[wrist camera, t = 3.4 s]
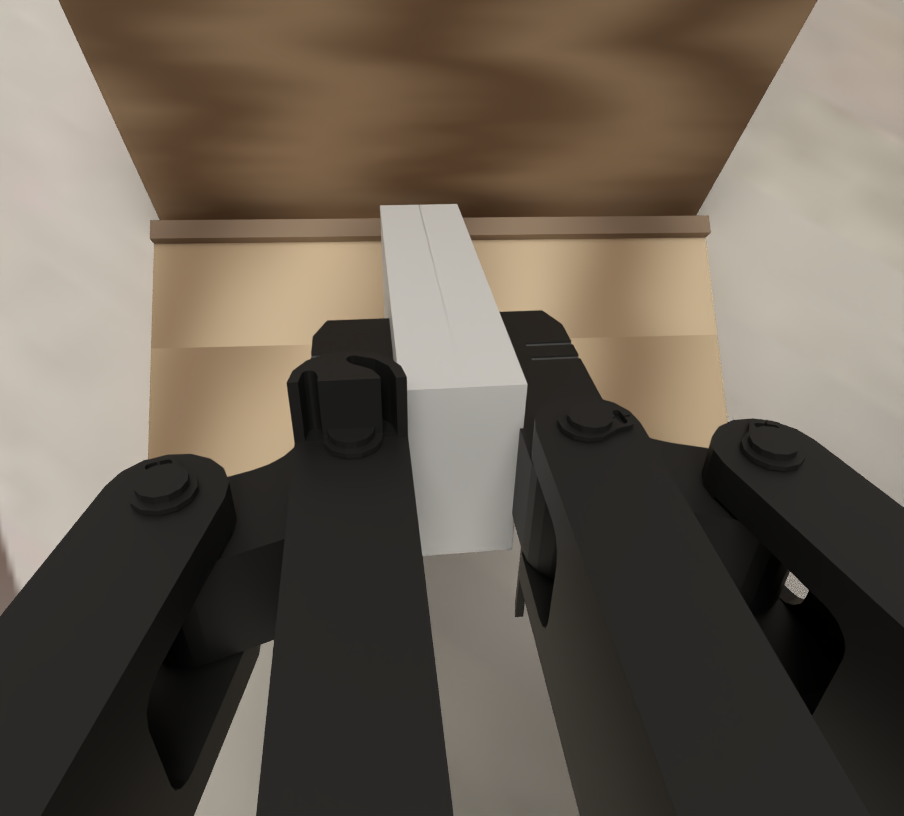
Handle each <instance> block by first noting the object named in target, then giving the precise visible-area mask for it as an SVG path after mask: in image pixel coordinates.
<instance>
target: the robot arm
mask: <svg viewBox="0 0 904 816" xmlns="http://www.w3.org/2000/svg"><path fill="white" fill-rule="evenodd" d="M380 220H381V246H382V271H383V297H384V318H379V319H352V320H327V321H326V322H325V323H324V324H323V326H322V327H321V328H320V329H319V330H318V331H317V332H316V333H315V334H314V335H313V338H312V349H311V359H309V360H306V361H305V362H304V363H302V364H301V365H300V366H298V367H297V368H295V369H294V370H293V371H292V373H291V375H290V377H289V379H288V381H287V391H288V398H289V406H290V413H291V421H292V428H293V435H294V448H293V449H292V450H291V451H289V452H288V453H287V454H286V455H285V456H283V457H281V458H280V459H278V460H276V461H274V462H272V463H270V464H268V465H265V466H262V467H260V468H257V469H254V470H251V471H247V472H243V473H240V474H236V475H233V476H229V477H227V475H226V472H225V470H224V468H223V467H222V466H220V465H219V464H218V463H216V462H215V461H213V460H212V459H211V458H207V457H202V456H198V455H194V454H168V455H164V456H160V457H156V458H152V459H148V460H144V461H142V462H140V463H138V464H136V465H134V466H132V467H130V468H128V469H126V470H124V471H122V472H121V473H120V474H118V475H117V476H116V477H115V478H114V479H113V480H112V481H110V482H109V483H108V484H107V485H106V486H105V487H104V488H103V490H102V491H101V492H100V493H99V494H98V496H97V497H96V498H95V499H94V501H93V502H92V503H91V504H90V506H89V507H88V508H87V509H86V511H85V512H84V513H83V514H82V516H81V517H80V518H79V519H78V521H77V522H76V523H75V524H74V525H73V527H72V528H71V529H70V530H69V532H68V533H67V534H66V535H65V537H64V538H63V539H62V540H61V542H60V543H59V544H58V545H57V547H56V548H55V549H54V550H53V551H52V553H51V554H50V555H49V556H48V558H47V559H46V560H45V561H44V563H43V564H42V565H41V566H40V568H39V569H38V570H37V571H36V573H35V574H34V575H33V576H32V578H31V579H30V580H29V581H28V582H27V584H26V585H25V586H24V587H23V589H22V590H21V591H20V592H19V594H18V595H17V596H16V597H15V599H14V600H13V601H12V602H11V604H10V605H9V606H8V607H7V609H6V610H5V611H4V612H3V614H2V615H1V616H0V816H194V814H195V812H196V809H197V807H198V804H199V802H200V799H201V797H202V794H203V792H204V789H205V787H206V784H207V782H208V779H209V777H210V775H211V772H212V770H213V767H214V765H215V762H216V760H217V757H218V755H219V752H220V750H221V747H222V745H223V742H224V740H225V737H226V735H227V733H228V730H229V728H230V725H231V723H232V720H233V718H234V715H235V713H236V710H237V708H238V705H239V703H240V700H241V698H242V696H243V693H244V691H245V688H246V686H247V683H248V681H249V678H250V676H251V673H252V671H253V668H254V666H255V663H256V661H257V658H258V656H259V652H260V646H261V644H263V643H266V642H269V641H271V640H274V648H273V657H272V667H271V677H270V687H269V696H268V706H267V716H266V725H265V735H264V745H263V755H262V764H261V774H260V784H259V794H258V803H257V813H256V816H453V808H452V799H451V791H450V783H449V774H448V766H447V758H446V749H445V741H444V732H443V724H442V716H441V707H440V699H439V691H438V682H437V674H436V666H435V657H434V649H433V640H432V632H431V624H430V615H429V607H428V599H427V590H426V582H425V574H424V565H423V557H422V556H429V555H443V554H456V553H469V552H483V551H496V550H509V549H512V541H513V531H514V523H515V526H516V530H517V534H518V537H519V541H520V544H521V553H520V562H519V571H518V581H517V590H516V600H515V617H522V616H523V612H524V604H526V608H527V611H528V615H529V619H530V623H531V627H532V631H533V635H534V639H535V643H536V647H537V650H538V654H539V658H540V662H541V666H542V670H543V674H544V678H545V682H546V686H547V689H548V693H549V697H550V701H551V705H552V709H553V713H554V717H555V721H556V724H557V728H558V732H559V736H560V740H561V744H562V748H563V752H564V756H565V760H566V763H567V767H568V771H569V775H570V779H571V783H572V787H573V791H574V795H575V799H576V802H577V806H578V810H579V814H580V816H904V507H902V506H901V505H900V504H898V503H897V502H896V501H894V500H893V499H892V498H890V497H889V496H888V495H886V494H885V493H884V492H883V491H881V490H880V489H879V488H877V487H876V486H875V485H873V484H872V483H871V482H869V481H868V480H867V479H865V478H864V477H863V476H861V475H860V474H859V473H858V472H856V471H855V470H854V469H852V468H851V467H850V466H848V465H847V464H846V463H844V462H843V461H842V460H840V459H839V458H838V457H836V456H835V455H834V454H833V453H831V452H830V451H829V450H827V449H826V448H825V447H823V446H822V445H821V444H819V443H818V442H817V441H815V440H814V439H812V438H810V437H809V436H807V435H805V434H804V433H802V432H800V431H798V430H797V429H794V428H791V427H788V426H786V425H783V424H780V423H778V422H774V421H769V420H762V419H741V420H732V421H730V422H728V423H725V424H723V425H721V426H719V427H718V428H717V430H716V431H715V433H714V434H713V436H712V438H711V441H710V445H709V448H704V447H697V446H691V445H684V444H677V443H670V442H666V441H661V440H657V439H652V438H650V437H649V436H648V434H647V432H646V431H645V429H644V427H643V426H642V424H641V422H640V421H639V420H638V419H637V418H636V417H635V416H634V415H633V414H632V413H631V412H630V411H629V410H627V409H625V408H623V407H621V406H620V405H618V404H616V403H614V402H610V401H607V400H603V399H602V397H601V395H600V393H599V392H598V390H597V388H596V386H595V384H594V382H593V380H592V379H591V377H590V375H589V373H588V371H587V369H586V367H585V366H584V364H583V362H582V360H581V358H579V354H578V352H577V351H576V349H575V347H574V345H573V344H571V339H570V338H569V336H568V334H567V332H566V330H565V328H564V326H563V325H562V324H561V323H560V322H558V321H557V320H556V319H554V318H553V317H551V316H550V315H548V314H547V313H546V312H544V311H543V310H534V311H506V312H499V310H498V307H497V305H496V302H495V300H494V297H493V295H492V292H491V289H490V287H489V284H488V282H487V279H486V277H485V274H484V271H483V269H482V266H481V264H480V261H479V259H478V256H477V253H476V251H475V248H474V246H473V243H472V241H471V238H470V236H469V233H468V230H467V228H466V225H465V223H464V220H463V218H462V215H461V212H460V210H459V207H458V205H457V204H430V205H380ZM789 572H791V573H792V574H793V575H794V576H795V577H796V578H797V579H798V580H799V581H800V582H801V583H802V584H803V585H804V586H806V587H807V588H808V589H809V592H808V594H807V596H806V598H805V599H801V598H799V597H797V596H796V595H795V594H793V593H792V592H791V591H790V590H789V589H788V588H787V587H786V586H785V585H784V584H785V582H786V579H787V577H788V575H789Z"/></svg>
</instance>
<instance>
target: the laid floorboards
mask: <svg viewBox="0 0 904 816" xmlns="http://www.w3.org/2000/svg"><path fill="white" fill-rule="evenodd" d="M463 220H464V223H465V225H466V228H467V230H468V233H469V236H470V238H471V241H472V243H473V246H474V248H475V251H476V253H477V256H478V259H479V261H480V264H481V266H482V269H483V271H484V274H485V277H486V279H487V282H488V284H489V287H490V289H491V292H492V295H493V297H494V300H495V302H496V305H497V307H498V310H499V312H506V311H534V310H543V311H544V312H546V313H547V314H548V315H550V316H551V317H553V318H554V319H556V320H557V321H558V322H560V323H561V324H562V325H563V326H564V328H565V330H566V332H567V334H568V336H569V338H570V339H571V344H573V345H574V347H575V349H576V351H577V352H578V354H579V358H581V360H582V362H583V364H584V366H585V367H586V369H587V371H588V373H589V375H590V377H591V379H592V380H593V382H594V384H595V386H596V388H597V390H598V392H599V393H600V395H601V397H602V399H603V400H607V401H610V402H614V403H616V404H618V405H620V406H621V407H623V408H625V409H627V410H629V411H630V412H631V413H632V414H633V415H634V416H635V417H636V418H637V419H638V420H639V421H640V422H641V424H642V426H643V427H644V429H645V431H646V432H647V434H648V436H649V437H650V438H652V439H657V440H661V441H666V442H670V443H677V444H684V445H691V446H697V447H704V448H709V445H710V441H711V438H712V436H713V434H714V433H715V431H716V430H717V428H718V427H719V426H721V425H723V424H725V423H728V421H727V413H726V405H725V396H724V388H723V380H722V371H721V363H720V355H719V346H718V338H717V330H716V321H715V313H714V305H713V297H712V288H711V280H710V272H709V263H708V255H707V247H706V238H705V237H706V236H708V235H709V234H710V233H711V231H710V223H709V216H601V217H485V218H463ZM150 239H151V241H152V242H153V243H154V267H153V302H152V338H151V373H150V408H149V444H148V459H152V458H156V457H160V456H164V455H168V454H194V455H198V456H202V457H207V458H211V459H212V460H213V461H215V462H216V463H218V464H219V465H220V466H222V467H223V468H224V470H225V472H226V475H227V477H229V476H233V475H236V474H240V473H243V472H247V471H251V470H254V469H257V468H260V467H262V466H265V465H268V464H270V463H272V462H274V461H276V460H278V459H280V458H281V457H283V456H285V455H286V454H287V453H288V452H289V451H291V450H292V449H293V448H294V435H293V428H292V421H291V413H290V406H289V398H288V391H287V381H288V379H289V377H290V375H291V373H292V371H293V370H294V369H295V368H297V367H298V366H300V365H301V364H302V363H304V362H305V361H306V360H309V359H311V349H312V338H313V335H314V334H315V333H316V332H317V331H318V330H319V329H320V328H321V327H322V326H323V324H324V323H325V322H326V321H327V320H352V319H379V318H384V297H383V271H382V246H381V220H380V218H369V219H253V220H150Z"/></svg>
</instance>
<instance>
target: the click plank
mask: <svg viewBox="0 0 904 816" xmlns="http://www.w3.org/2000/svg"><path fill="white" fill-rule="evenodd" d="M59 2H60V4H61V6H62V9H63V11H64V13H65V15H66V17H67V19H68V22H69V24H70V26H71V28H72V30H73V32H74V35H75V37H76V39H77V41H78V43H79V46H80V48H81V50H82V52H83V54H84V56H85V59H86V61H87V63H88V65H89V67H90V69H91V72H92V74H93V76H94V78H95V80H96V82H97V85H98V87H99V89H100V91H101V93H102V95H103V98H104V100H105V102H106V104H107V106H108V108H109V111H110V113H111V115H112V117H113V119H114V121H115V124H116V126H117V128H118V130H119V132H120V134H121V137H122V139H123V141H124V143H125V145H126V147H127V150H128V152H129V154H130V156H131V158H132V160H133V163H134V165H135V167H136V169H137V171H138V173H139V176H140V178H141V180H142V182H143V184H144V186H145V189H146V191H147V193H148V195H149V197H150V199H151V202H152V204H153V206H154V208H155V210H156V213H157V215H158V217H159V219H160V220H253V219H369V218H380V205H430V204H457V205H458V207H459V210H460V212H461V215H462V218H485V217H601V216H696V215H697V213H698V211H699V209H700V207H701V206H702V204H703V202H704V200H705V199H706V197H707V195H708V193H709V192H710V190H711V188H712V186H713V184H714V183H715V181H716V179H717V177H718V176H719V174H720V172H721V170H722V168H723V167H724V165H725V163H726V161H727V160H728V158H729V156H730V154H731V153H732V151H733V149H734V147H735V145H736V144H737V142H738V140H739V138H740V137H741V135H742V133H743V131H744V130H745V128H746V126H747V124H748V122H749V121H750V119H751V117H752V115H753V114H754V112H755V110H756V108H757V106H758V105H759V103H760V101H761V99H762V98H763V96H764V94H765V92H766V91H767V89H768V87H769V85H770V83H771V82H772V80H773V78H774V76H775V75H776V73H777V71H778V69H779V68H780V66H781V64H782V62H783V60H784V59H785V57H786V55H787V53H788V52H789V50H790V48H791V46H792V45H793V43H794V41H795V39H796V37H797V36H798V34H799V32H800V30H801V29H802V27H803V25H804V23H805V21H806V20H807V18H808V16H809V14H810V13H811V11H812V9H813V7H814V6H815V4H816V2H817V0H59Z"/></svg>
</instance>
